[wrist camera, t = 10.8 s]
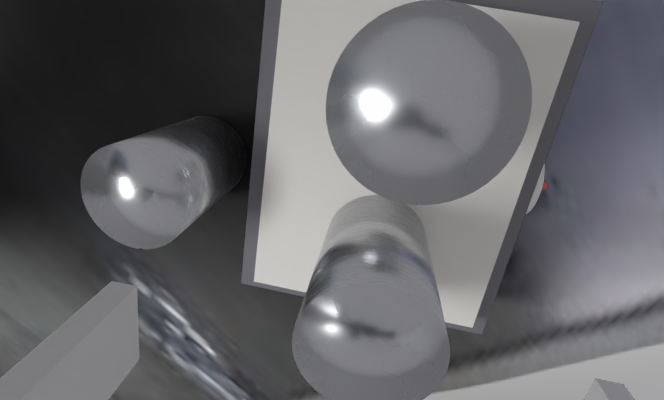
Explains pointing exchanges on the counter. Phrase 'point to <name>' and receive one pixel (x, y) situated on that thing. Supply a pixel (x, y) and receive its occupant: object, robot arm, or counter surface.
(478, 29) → the cylinder
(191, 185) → the cylinder
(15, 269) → the counter surface
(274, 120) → the scale
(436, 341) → the cylinder
